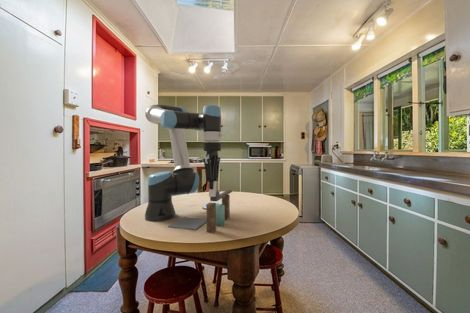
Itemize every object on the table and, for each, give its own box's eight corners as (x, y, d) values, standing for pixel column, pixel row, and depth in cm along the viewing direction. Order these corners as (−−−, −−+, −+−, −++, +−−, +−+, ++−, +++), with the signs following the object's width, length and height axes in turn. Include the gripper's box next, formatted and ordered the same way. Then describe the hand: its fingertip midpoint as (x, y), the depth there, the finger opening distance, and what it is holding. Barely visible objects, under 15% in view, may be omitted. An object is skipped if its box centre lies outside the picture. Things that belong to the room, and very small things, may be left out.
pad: (168, 226, 101) (168, 225, 101) (184, 217, 114) (184, 216, 114) (195, 230, 96) (195, 229, 96) (209, 220, 110) (209, 219, 110)
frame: (206, 232, 94) (206, 204, 94) (224, 217, 114) (224, 194, 114) (213, 232, 93) (213, 204, 93) (229, 217, 113) (229, 194, 113)
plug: (212, 225, 102) (212, 206, 102) (216, 222, 107) (216, 203, 107) (222, 226, 101) (222, 207, 100) (226, 223, 105) (225, 204, 105)
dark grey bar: (210, 201, 97) (210, 191, 97) (227, 191, 119) (227, 184, 119) (216, 201, 97) (216, 192, 96) (232, 192, 118) (232, 184, 118)
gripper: (214, 141, 88) (214, 200, 89) (225, 142, 100) (225, 193, 101) (197, 141, 90) (197, 198, 91) (210, 142, 103) (210, 192, 104)
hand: (212, 196), depth 96 cm, fingers closed
